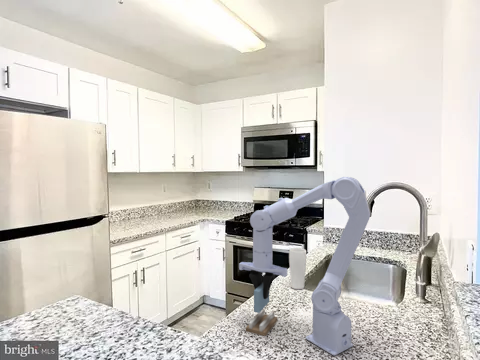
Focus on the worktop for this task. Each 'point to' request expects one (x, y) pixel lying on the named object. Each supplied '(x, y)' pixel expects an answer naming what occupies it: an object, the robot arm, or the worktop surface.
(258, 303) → the door panel
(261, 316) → the bottom track
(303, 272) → the drinking glass
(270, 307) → the worktop surface
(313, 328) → the robot arm
